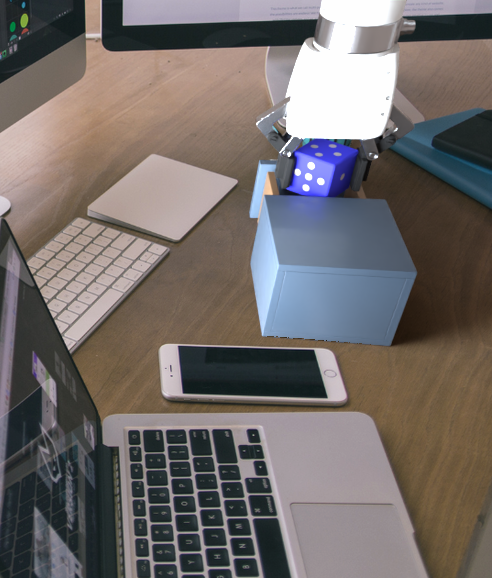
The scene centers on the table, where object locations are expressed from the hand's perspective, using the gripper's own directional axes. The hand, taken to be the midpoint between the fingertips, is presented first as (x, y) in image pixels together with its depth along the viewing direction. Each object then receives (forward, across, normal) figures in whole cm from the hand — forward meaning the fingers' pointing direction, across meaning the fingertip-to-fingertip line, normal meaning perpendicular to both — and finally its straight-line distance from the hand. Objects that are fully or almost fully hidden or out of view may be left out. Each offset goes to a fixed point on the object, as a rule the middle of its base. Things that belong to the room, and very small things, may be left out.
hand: (318, 183), depth 90 cm
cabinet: (+9, 0, +11) cm, 14 cm away
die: (+1, 0, 0) cm, 1 cm away
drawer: (+8, 0, -2) cm, 8 cm away
